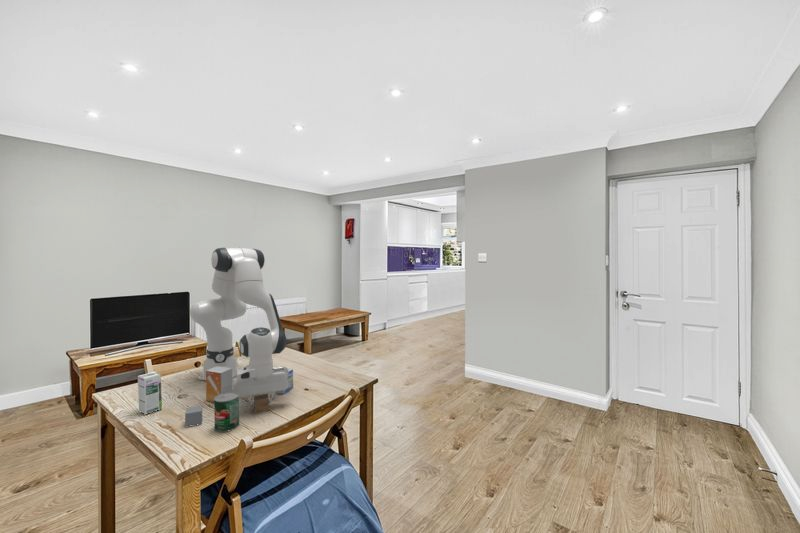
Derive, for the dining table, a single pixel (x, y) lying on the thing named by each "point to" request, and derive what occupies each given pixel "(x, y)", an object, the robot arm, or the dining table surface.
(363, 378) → the dining table surface
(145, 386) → the syrup box
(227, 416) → the canned tomato
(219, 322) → the robot arm
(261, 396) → the walnut block
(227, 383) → the small box
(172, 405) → the dining table surface
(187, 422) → the slate block
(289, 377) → the medicine box
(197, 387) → the dining table surface
